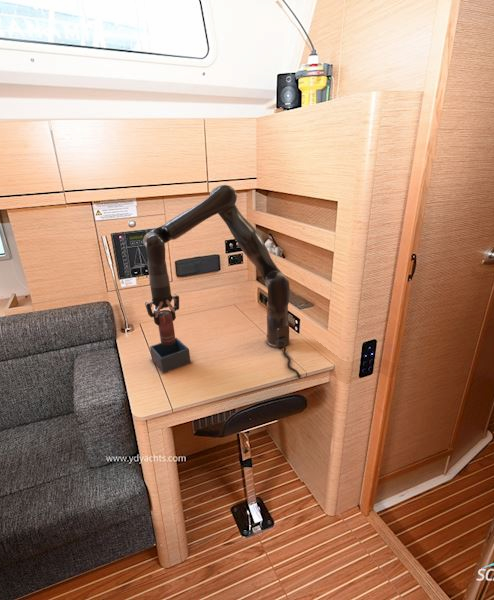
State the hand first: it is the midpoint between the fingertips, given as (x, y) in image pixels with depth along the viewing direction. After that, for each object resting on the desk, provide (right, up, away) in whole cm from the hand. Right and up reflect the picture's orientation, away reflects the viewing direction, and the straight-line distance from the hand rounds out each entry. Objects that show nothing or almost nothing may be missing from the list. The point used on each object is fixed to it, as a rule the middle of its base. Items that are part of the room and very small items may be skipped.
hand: (165, 322), depth 137 cm
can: (+1, -9, +4) cm, 10 cm away
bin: (+1, -17, +7) cm, 19 cm away
